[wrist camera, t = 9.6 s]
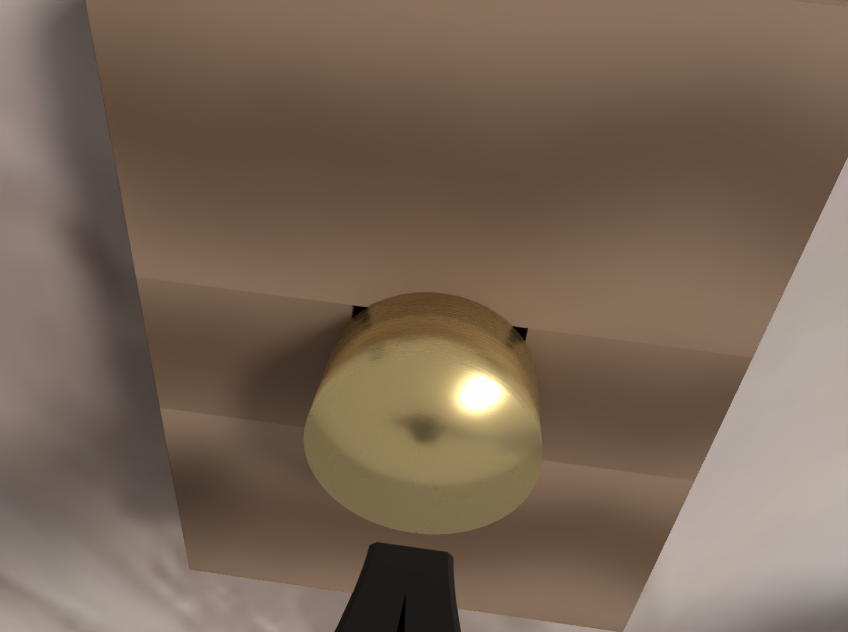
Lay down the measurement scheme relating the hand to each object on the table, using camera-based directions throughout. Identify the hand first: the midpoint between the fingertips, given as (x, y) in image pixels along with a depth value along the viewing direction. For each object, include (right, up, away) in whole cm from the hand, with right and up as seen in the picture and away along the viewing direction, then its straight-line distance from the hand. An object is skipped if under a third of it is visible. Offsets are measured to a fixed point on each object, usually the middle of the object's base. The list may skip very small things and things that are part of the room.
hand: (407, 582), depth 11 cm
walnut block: (+1, +5, +8) cm, 9 cm away
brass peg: (+1, +5, +8) cm, 9 cm away
